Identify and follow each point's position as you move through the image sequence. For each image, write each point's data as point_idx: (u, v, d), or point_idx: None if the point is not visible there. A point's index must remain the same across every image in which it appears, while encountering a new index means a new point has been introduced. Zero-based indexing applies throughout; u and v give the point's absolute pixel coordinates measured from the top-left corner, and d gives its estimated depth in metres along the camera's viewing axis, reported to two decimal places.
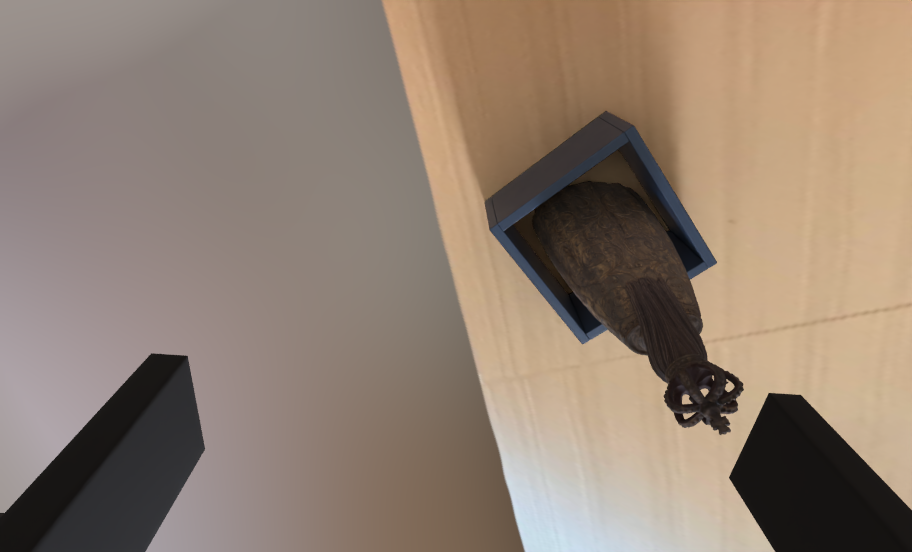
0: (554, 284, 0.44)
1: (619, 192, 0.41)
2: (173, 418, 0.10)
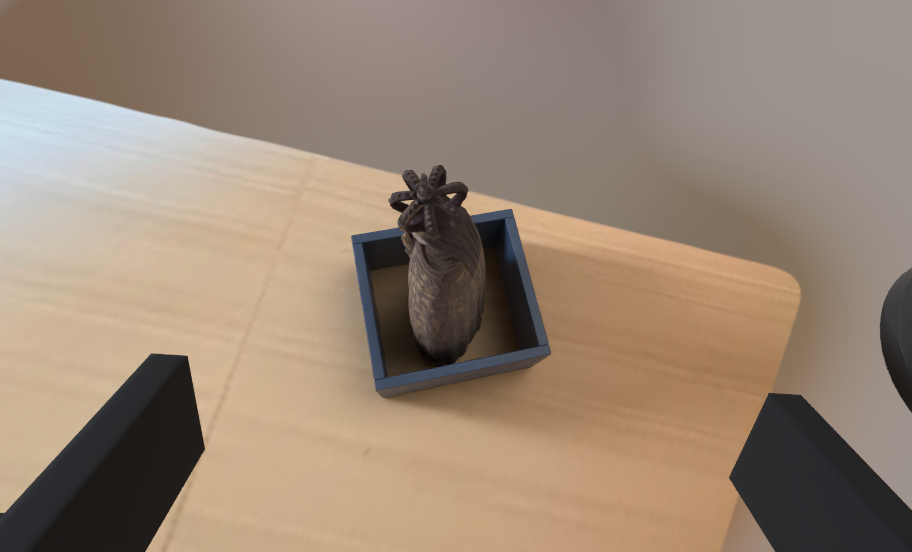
0: None
1: (468, 342, 0.42)
2: (173, 418, 0.10)
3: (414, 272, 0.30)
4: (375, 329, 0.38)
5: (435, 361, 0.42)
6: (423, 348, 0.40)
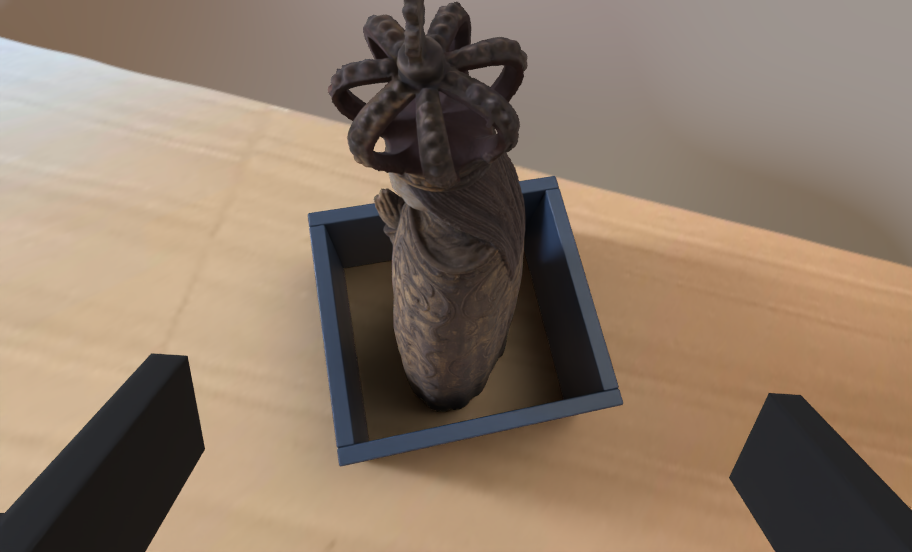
0: None
1: None
2: (173, 418, 0.10)
3: (400, 270, 0.16)
4: (341, 362, 0.23)
5: (437, 407, 0.27)
6: (418, 390, 0.25)
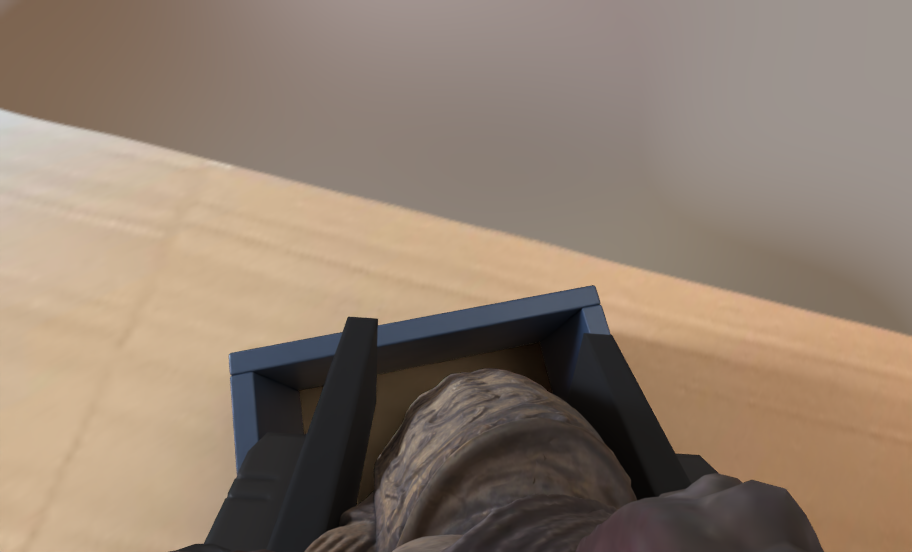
0: None
1: None
2: (372, 370, 0.12)
3: None
4: None
5: None
6: None
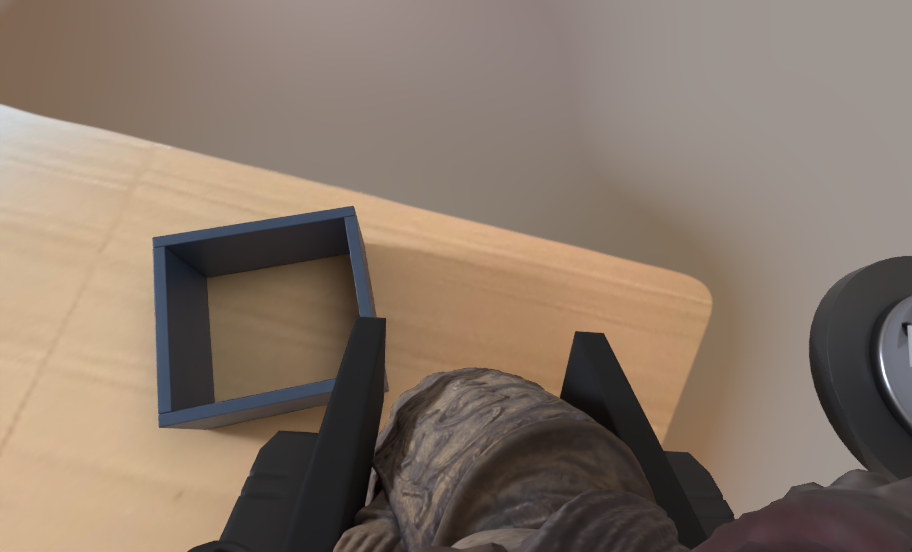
0: (239, 256, 0.37)
1: None
2: (380, 369, 0.12)
3: None
4: (167, 351, 0.31)
5: None
6: None
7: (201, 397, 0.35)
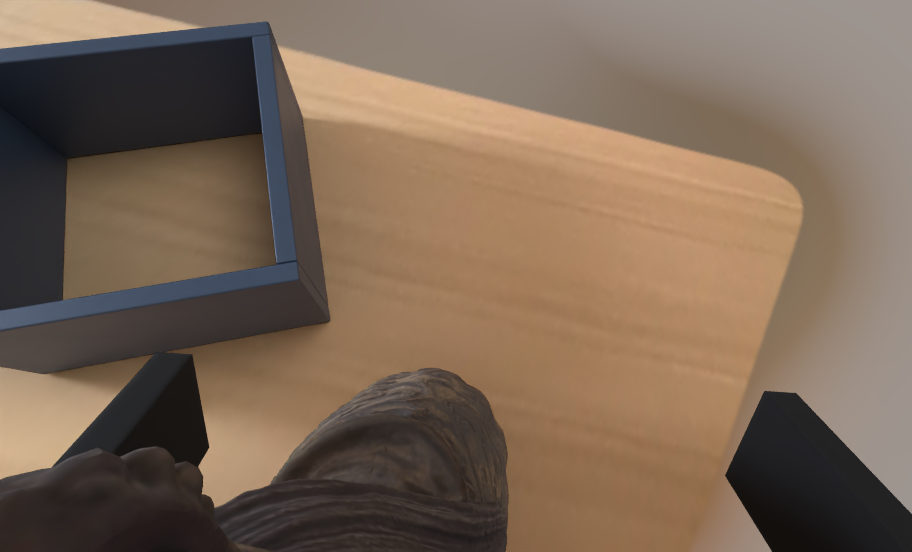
0: (102, 113, 0.25)
1: None
2: (178, 416, 0.10)
3: None
4: None
5: None
6: None
7: None
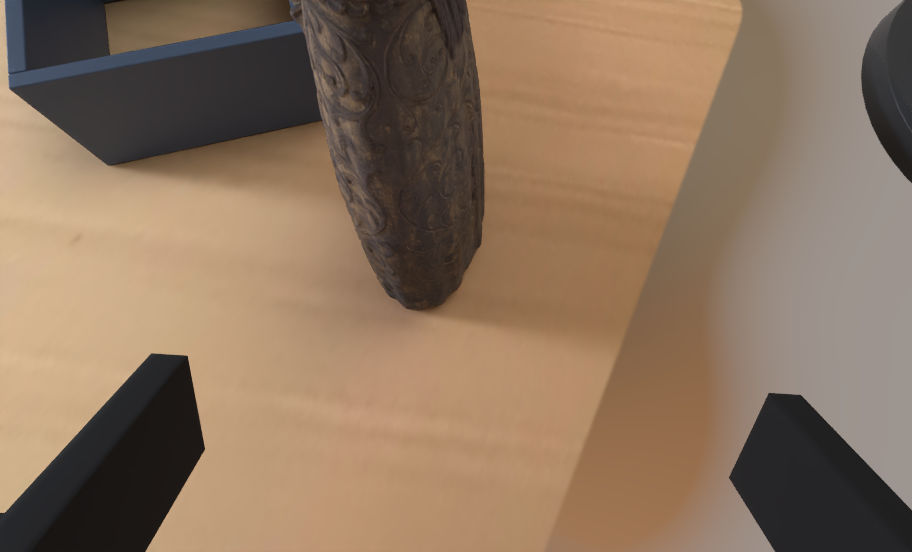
0: None
1: (462, 264, 0.25)
2: (173, 418, 0.10)
3: (311, 52, 0.13)
4: (20, 5, 0.23)
5: (409, 299, 0.24)
6: (384, 274, 0.23)
7: None
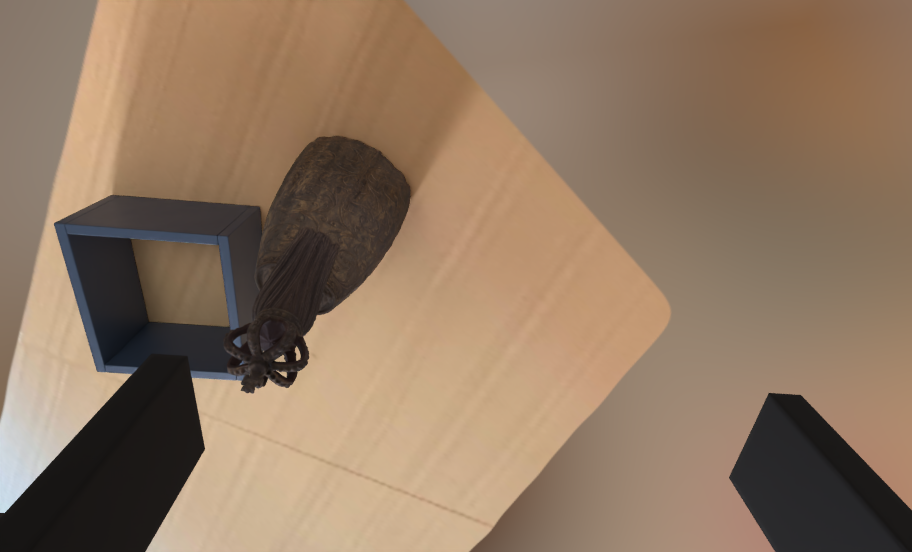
0: (121, 306, 0.44)
1: (394, 178, 0.39)
2: (173, 418, 0.10)
3: None
4: (191, 371, 0.42)
5: (405, 214, 0.41)
6: None
7: None
